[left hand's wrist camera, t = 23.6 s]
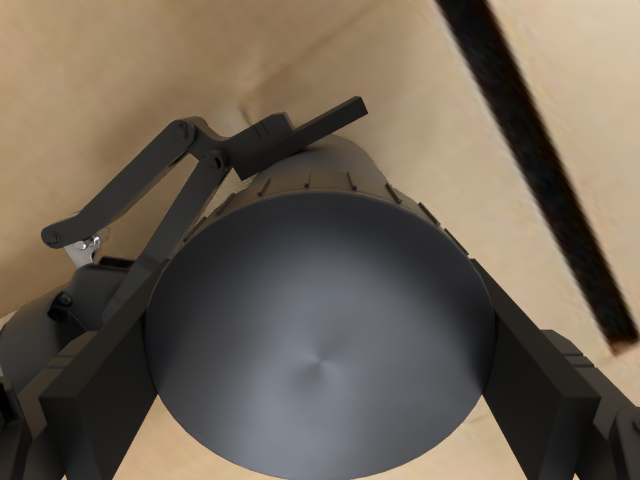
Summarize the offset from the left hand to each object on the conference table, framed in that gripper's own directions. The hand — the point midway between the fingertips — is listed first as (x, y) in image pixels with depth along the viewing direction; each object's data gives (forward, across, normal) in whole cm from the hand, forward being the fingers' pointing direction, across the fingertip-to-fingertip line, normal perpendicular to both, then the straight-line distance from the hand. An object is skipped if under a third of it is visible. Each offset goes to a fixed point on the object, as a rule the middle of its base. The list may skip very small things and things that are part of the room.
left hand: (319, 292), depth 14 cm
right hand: (+6, -4, -2) cm, 8 cm away
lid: (-4, 0, 0) cm, 4 cm away
